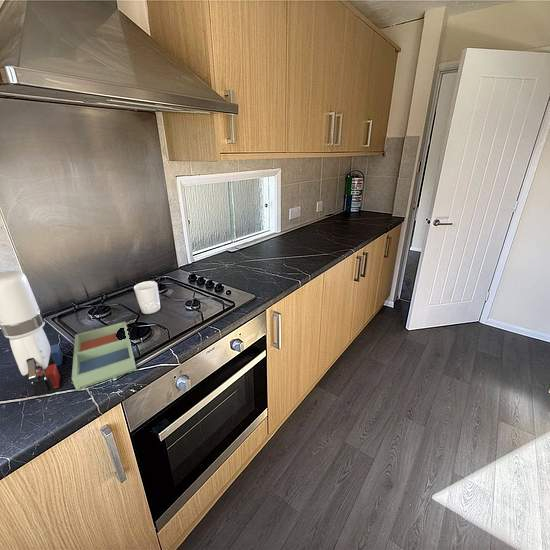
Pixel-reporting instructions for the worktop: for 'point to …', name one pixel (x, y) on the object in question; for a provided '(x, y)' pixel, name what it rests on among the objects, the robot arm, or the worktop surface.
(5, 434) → the worktop surface
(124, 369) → the tray
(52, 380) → the red block
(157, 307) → the white cup
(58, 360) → the blue block
